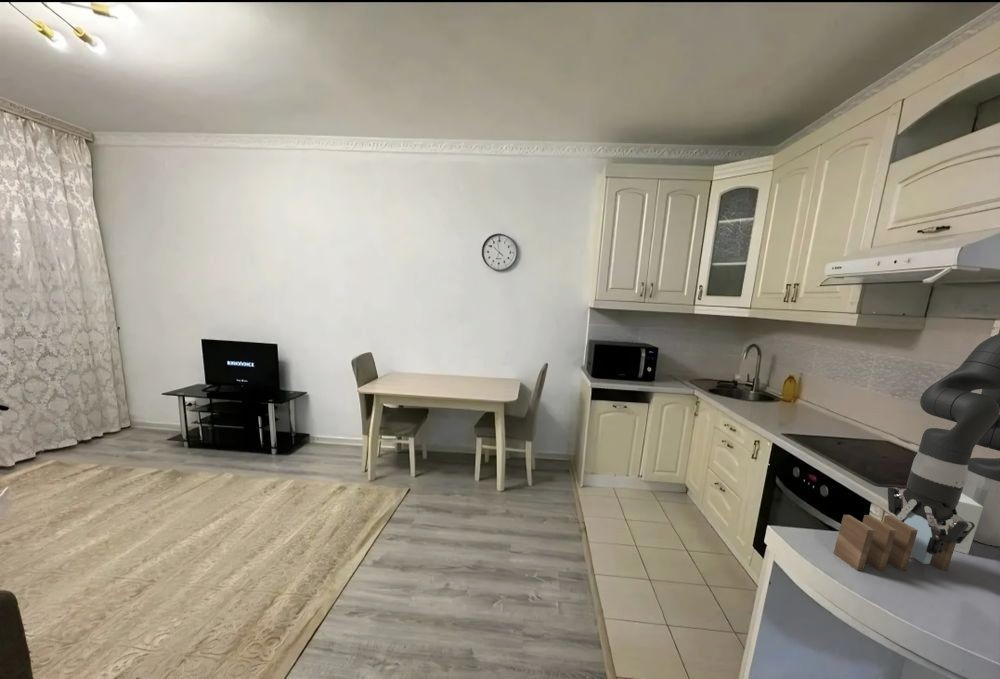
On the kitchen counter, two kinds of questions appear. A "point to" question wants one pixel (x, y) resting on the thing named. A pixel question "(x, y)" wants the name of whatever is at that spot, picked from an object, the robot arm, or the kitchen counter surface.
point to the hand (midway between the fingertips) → (916, 543)
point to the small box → (968, 512)
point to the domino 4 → (920, 537)
